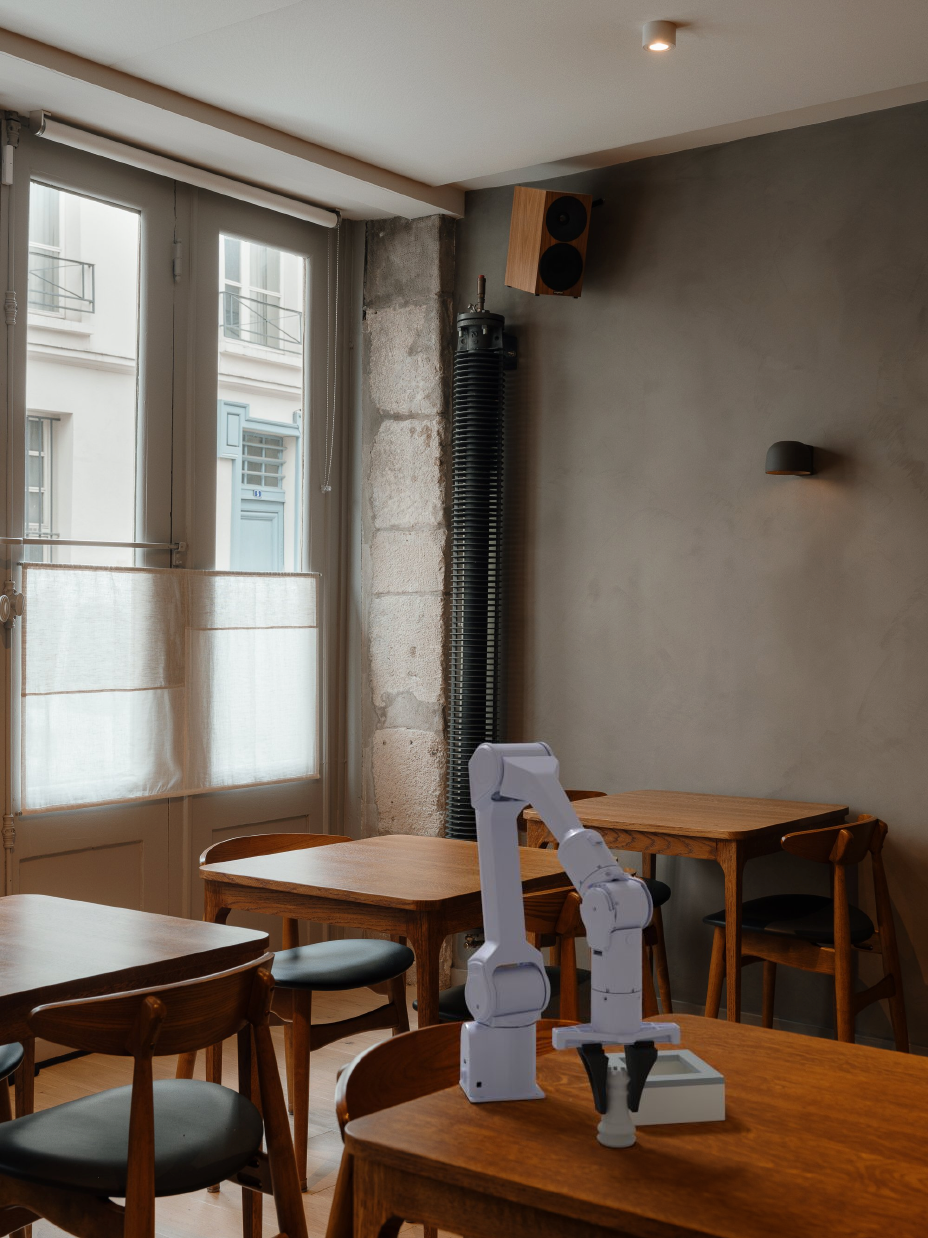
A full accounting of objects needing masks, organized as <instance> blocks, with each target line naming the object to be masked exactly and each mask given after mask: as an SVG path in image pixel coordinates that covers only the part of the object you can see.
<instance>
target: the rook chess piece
mask: <svg viewBox="0 0 928 1238" xmlns="http://www.w3.org/2000/svg"><path fill="white" fill-rule="evenodd" d="M630 1080H631V1077H630V1076H629V1075H628V1069H625V1067H620V1070H617V1066H613V1070H611V1067H608V1069H607V1079H606V1097H607V1110H606V1114H602V1117H601V1121H600V1122H599V1123H598V1125H597V1132H599V1133H598V1134H597V1135H596V1138H597V1140H598V1141H599V1143H600V1144H601V1145H603V1146H606V1147H609V1148H615V1149H618V1148H619V1149H621V1148H628V1147H631V1146H633V1145H634V1143H635V1142H636V1141H637V1140H638V1139H637V1137H636V1135H635V1133H636V1132H637V1130H636V1126H634V1124H633V1123H632V1119H631V1118H630V1115H629V1110H628V1103H627V1095H628V1093H629V1091H628V1090H627V1084H628V1083H629V1081H630Z"/></svg>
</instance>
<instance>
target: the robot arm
mask: <svg viewBox="0 0 928 1238" xmlns="http://www.w3.org/2000/svg"><path fill="white" fill-rule="evenodd" d="M468 775H469V791H470V804H471V807H472V808H473V809H475V810H474V813H475V824H476V826H475V827H476V837H477V838H476V839H477V851H478V852H477V853H478V865H479V877H480V891H481V892H480V893H481V904H482V905H481V906H482V916H483V917H482V918H483V929H484V930H483V931H484V934H483V935H484V943H483V944H482V945H481V946H480V947H479V948H478V949H477V951H475V953H474V954H472V955H471V957H469V959H468V960H467V976H466V977H467V978H466V983H465V987H464V997H465V1003H466V1006H467V1009H468V1011H469V1013H470V1014H471V1016H472V1017H473V1019H474V1021H466V1022H463V1023H462V1025H461V1031H460V1072H459V1074H460V1075H459V1076H460V1078H459V1079H460V1080H459V1085H460V1087H461V1089H462V1090H463V1092H464V1093H465V1095H466V1096H467V1098H468V1100H469V1101H470V1102H471V1103H486V1102H503V1101H518V1100H536V1099H537V1100H538V1099H540V1100H541V1099H545V1098H546V1094H545V1092H544V1091H543V1090H542V1089H541V1087H540V1086H539V1085H538V1084H537V1075H536V1073H537V1069H536V1067H537V1060H536V1059H537V1053H536V1052H537V1046H536V1045H537V1021H541V1020H542V1012H544V1010H546V1008H547V1007H548V1005H549V1002H550V998H551V984H550V980H549V977H548V975H547V973H546V968H545V966H544V965H545V964H544V957H543V956H544V955H543V954H542V953H541V951H540V950H538V949H537V948H536V947H535V946H533V945H532V944H531V943H530V942H529V941H527V936H526V935H527V934H526V925H525V923H526V921H525V909H524V898H523V897H524V896H523V887H522V886H523V885H522V874H521V873H522V872H521V871H522V870H521V862H520V861H521V860H520V847H519V833H518V822H517V818H518V816H519V815H520V813H521V811H522V810H523V809H524V808H525V807H526V806H527V807H528V806H529V805H531V807H532V808H533V809H534V811H535V813H536V814H537V815H538V816H539V818H540V819H541V820H542V822H543V823H544V824H545V826H546V828H548V830H549V831H550V833H552V835H553V836H554V838H555V839H556V840H557V842H558V843H559V845H558V848H557V852H556V857H557V860H558V861H559V863H560V865H561V866H562V868H563V870H564V871H565V874H566V875H567V876H568V878H569V880H570V881H571V883H572V884H573V886H574V888H575V890H576V891H577V893H578V894H579V896H580V897H581V899H582V903H580V904H579V911H580V912H579V913H580V917H581V920H582V922H583V925H584V927H585V930H586V942H587V945H588V947H589V948H591V949H590V951H591V953H590V969H591V970H590V973H591V974H590V978H591V979H590V981H591V982H590V990H591V991H590V1001H591V1002H590V1012H591V1013H590V1023H583V1024H578V1025H571V1026H565V1027H563V1026H561V1027H553V1028H552V1031H551V1032H552V1034H551V1036H552V1037H551V1038H552V1040H551V1041H552V1042H551V1044H552V1046H553V1048H554V1049H555V1050H557V1051H562V1050H566V1049H568V1048H576V1051H577V1053H578V1056H579V1058H580V1060H581V1062H582V1064H583V1067H584V1070H585V1072H586V1075H587V1078H588V1081H589V1085H590V1087H591V1089H590V1090H591V1092H592V1097H593V1102H594V1109H595V1111H596V1112H597V1113H598V1114H599V1115H604V1114H606V1110H607V1097H606V1079H607V1069H608V1062H609V1058H608V1057H607V1056H606V1055H605V1054H606V1052H605V1049H604V1048H603V1047H606V1046H607V1047H608V1046H609V1047H611V1046H612V1047H613V1046H623V1048H624V1053H625V1059H626V1069H628V1075H629V1076H630V1077H631V1080H630V1081H629V1083H628V1084H627V1090H628V1091H629V1093H628V1095H627V1103H628V1109H629V1110H630V1111H631V1112H632V1113H635V1112H638V1109H639V1104H640V1099H641V1095H642V1092H643V1088H644V1085H645V1082H646V1080H647V1077H648V1075H649V1073H650V1071H651V1069H652V1067H653V1065H654V1063H655V1062H656V1060H657V1057H658V1051H659V1050H658V1049H657V1048H656V1047H655V1044H670V1045H680V1044H681V1027H680V1025H677V1024H676V1023H675V1022H648V1021H643V1010H642V1009H643V1006H642V1004H643V1003H642V1002H643V1000H642V999H643V967H642V966H643V962H642V961H643V959H642V958H643V948H642V947H643V941H642V940H643V929H645V928H646V927H648V925H649V924H650V922H651V920H652V918H653V913H654V912H653V911H654V904H653V899H652V895H651V893H650V890H649V889H648V887H647V884H646V883H645V881H643V880H642V879H641V878H637V877H633V876H632V875H631V874H630V872H625V871H624V870H623V869H622V867H621V866H620V864H619V862H618V861H617V859H616V858H615V857H614V854H613V853H612V852H611V850H610V848H609V847H608V845H607V844H606V842H605V839H604V838H603V836H602V835H601V833H599V832H597V830H595V829H590V828H589V829H588V828H584V826H583V824H582V822H581V820H580V818H579V816H578V815H577V813H576V811H575V809H574V806H573V805H572V803H571V801H570V799H569V797H568V796H567V794H566V791H565V790H564V787H563V786H562V784H561V782H560V780H559V778H560V761H559V760H558V759H557V758H556V757H555V755H554V752H553V749H552V748H551V747H550V745H548V744H547V743H546V742H543V741H537V742H536V741H535V742H532V743H531V742H530V743H528V742H527V743H525V742H523V743H491V742H484V743H480V744H479V745H478V746H477V748H475V751H474V753H473V755H471V758H470V759H469V761H468ZM513 964H515V965H513ZM516 964H517V965H516ZM507 965H512V966H507ZM501 966H504V967H501Z"/></svg>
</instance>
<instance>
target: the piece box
mask: <svg viewBox="0 0 928 1238" xmlns="http://www.w3.org/2000/svg"><path fill="white" fill-rule="evenodd" d="M605 1055H606V1056H607V1057H608V1058H609V1062H608V1067H611V1070H613V1066H617V1070H620V1067H625V1069H626V1059H625V1052H613V1053H612V1052H609V1053H608V1052H607V1053H605ZM725 1078H726V1077H725V1076H724V1075H723V1074H721V1073H720V1072H719V1071H717V1070H716V1069H714V1067H712V1066H711V1065H709V1064H708V1063H707V1062H705V1061H704V1059H703V1060H702V1059H701V1058H700V1057H698V1055H696V1054H694V1053H693V1052H692V1051H691V1050H689V1049H688V1048H687V1049H671V1050H670V1049H669V1050H667V1049H666V1050H658V1057H657V1060H656V1062H655V1063H654V1065H653V1067H652V1069H651V1071H650V1073H649V1075H648V1077H647V1080H646V1082H645V1085H644V1088H643V1092H642V1095H641V1099H640V1104H639V1109H638V1112H635V1113H632V1112H631V1111H630V1110H629V1109H628V1110H629V1115H630V1118H631V1119H632V1123H633V1124H634V1126H635V1127H636V1126H648V1125H649V1126H651V1125H653V1126H654V1125H666V1124H679V1123H680V1124H681V1123H697V1122H699V1123H700V1122H701V1123H702V1122H713V1121H714V1122H716V1121H717V1122H718V1121H725V1120H726V1101H725V1100H726V1098H725V1097H726V1096H725V1095H726V1094H725V1093H726V1092H725V1091H726V1088H725V1087H726V1081H725V1080H726V1079H725Z"/></svg>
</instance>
